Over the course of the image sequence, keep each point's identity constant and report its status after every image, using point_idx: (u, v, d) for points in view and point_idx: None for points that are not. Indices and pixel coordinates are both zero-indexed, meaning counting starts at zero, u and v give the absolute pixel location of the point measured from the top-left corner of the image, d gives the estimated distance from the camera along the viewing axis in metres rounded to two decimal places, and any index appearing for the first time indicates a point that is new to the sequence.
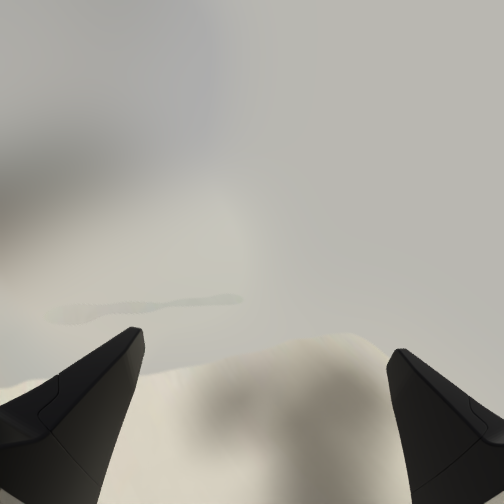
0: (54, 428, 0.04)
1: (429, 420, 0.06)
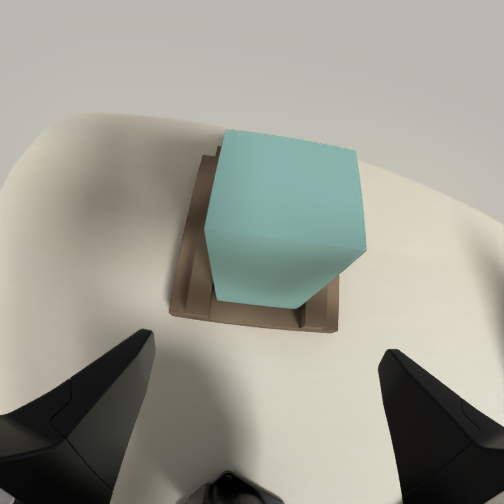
0: (68, 434, 0.04)
1: (420, 422, 0.06)
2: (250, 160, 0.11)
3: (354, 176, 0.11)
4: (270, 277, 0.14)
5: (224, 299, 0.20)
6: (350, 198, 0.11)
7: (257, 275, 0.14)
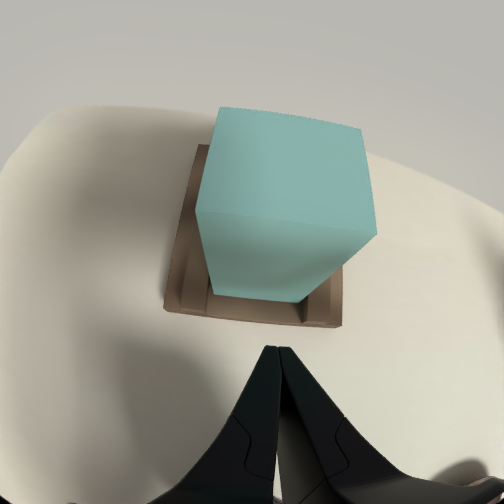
0: (271, 476, 0.04)
1: (291, 436, 0.06)
2: (247, 136, 0.10)
3: (361, 154, 0.10)
4: (270, 267, 0.13)
5: (221, 293, 0.19)
6: (357, 177, 0.10)
7: (255, 265, 0.13)
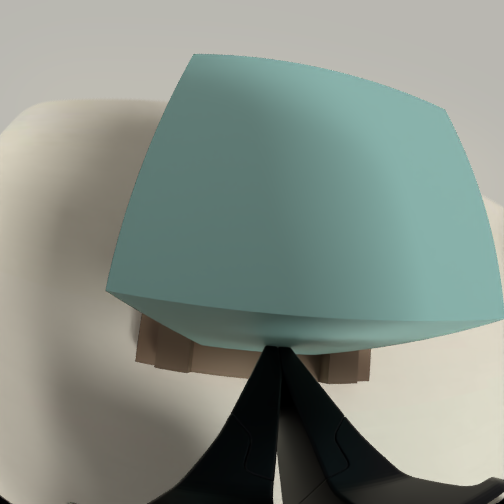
0: (271, 476, 0.04)
1: (291, 436, 0.06)
2: (245, 101, 0.04)
3: (460, 153, 0.04)
4: (286, 344, 0.07)
5: None
6: (467, 198, 0.04)
7: (261, 342, 0.07)
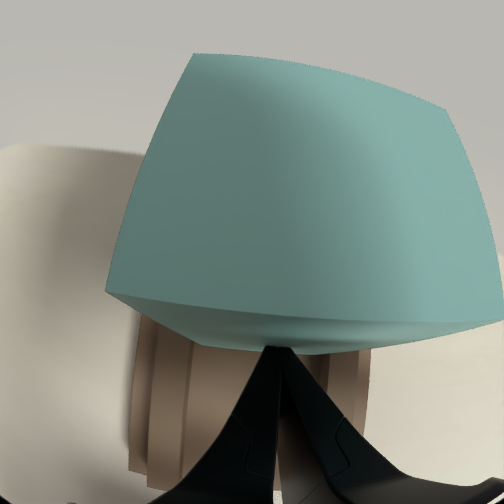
0: (271, 476, 0.04)
1: (291, 436, 0.06)
2: (245, 100, 0.04)
3: (460, 153, 0.04)
4: (286, 344, 0.07)
5: (211, 345, 0.13)
6: (467, 198, 0.04)
7: (260, 342, 0.07)
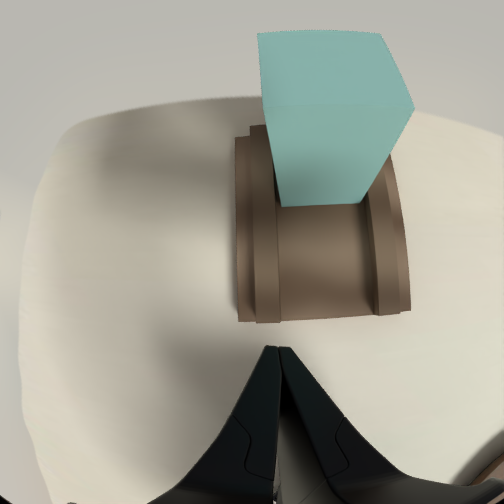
0: (271, 476, 0.04)
1: (291, 436, 0.06)
2: (288, 50, 0.10)
3: (385, 52, 0.09)
4: (332, 159, 0.14)
5: (288, 203, 0.20)
6: (387, 68, 0.09)
7: (318, 160, 0.14)
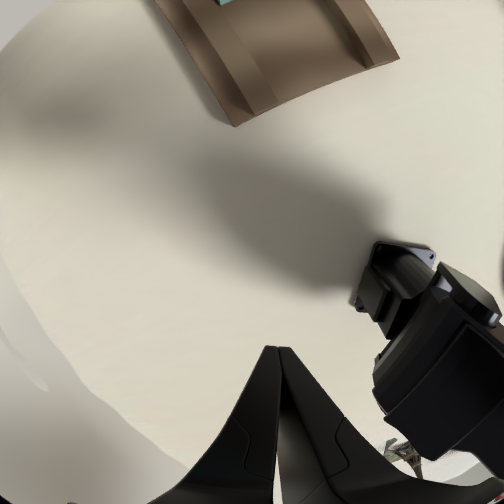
0: (271, 476, 0.04)
1: (291, 436, 0.06)
2: None
3: None
4: None
5: None
6: None
7: None
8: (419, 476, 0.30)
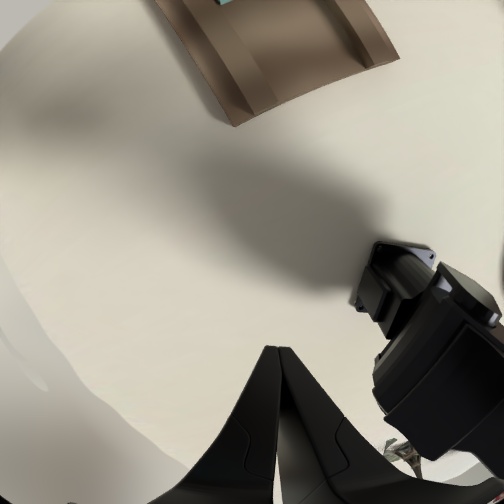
0: (271, 476, 0.04)
1: (291, 436, 0.06)
2: None
3: None
4: None
5: None
6: None
7: None
8: (418, 476, 0.30)
